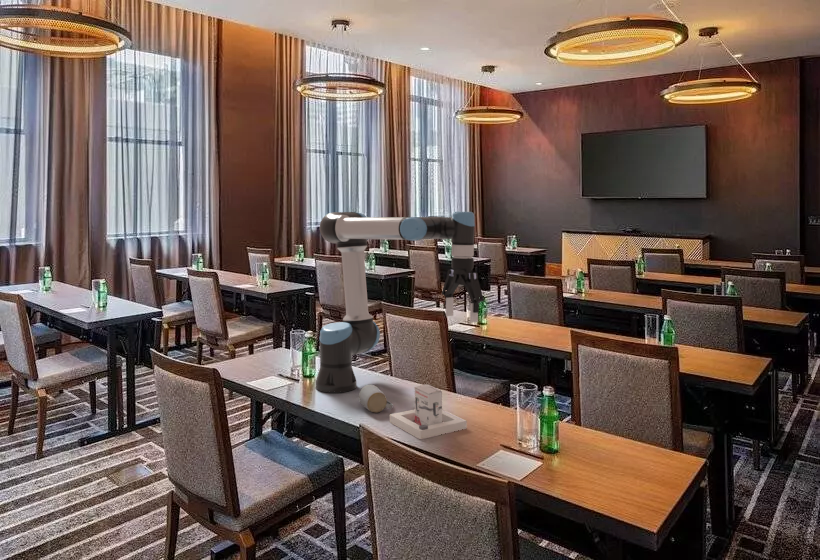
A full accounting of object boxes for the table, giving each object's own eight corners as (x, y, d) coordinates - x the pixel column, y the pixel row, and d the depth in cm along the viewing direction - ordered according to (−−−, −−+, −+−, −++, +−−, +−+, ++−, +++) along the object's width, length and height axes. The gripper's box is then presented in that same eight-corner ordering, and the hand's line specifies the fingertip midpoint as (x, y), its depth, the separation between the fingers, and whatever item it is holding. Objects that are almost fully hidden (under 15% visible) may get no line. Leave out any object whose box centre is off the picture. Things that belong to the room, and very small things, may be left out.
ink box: (413, 423, 193) (413, 385, 191) (426, 420, 196) (427, 383, 194) (429, 431, 186) (430, 392, 184) (443, 428, 188) (443, 390, 187)
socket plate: (389, 422, 193) (389, 411, 193) (434, 412, 202) (434, 403, 202) (420, 439, 179) (420, 428, 179) (466, 428, 188) (466, 418, 188)
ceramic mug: (367, 415, 199) (368, 392, 199) (358, 407, 207) (358, 385, 206) (397, 411, 204) (397, 388, 203) (387, 404, 211) (387, 382, 211)
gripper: (495, 259, 202) (493, 323, 204) (449, 254, 223) (448, 312, 225) (477, 260, 198) (475, 325, 200) (432, 254, 219) (431, 314, 221)
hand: (461, 318), depth 213 cm, fingers open, 13 cm apart
